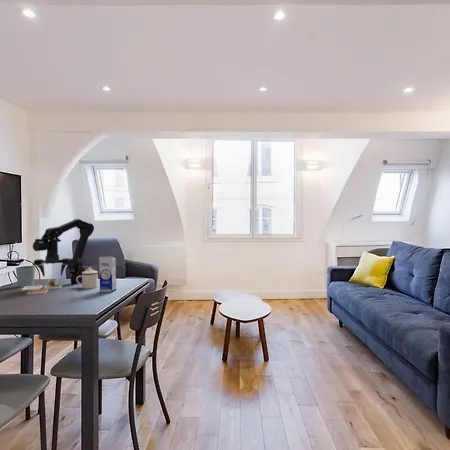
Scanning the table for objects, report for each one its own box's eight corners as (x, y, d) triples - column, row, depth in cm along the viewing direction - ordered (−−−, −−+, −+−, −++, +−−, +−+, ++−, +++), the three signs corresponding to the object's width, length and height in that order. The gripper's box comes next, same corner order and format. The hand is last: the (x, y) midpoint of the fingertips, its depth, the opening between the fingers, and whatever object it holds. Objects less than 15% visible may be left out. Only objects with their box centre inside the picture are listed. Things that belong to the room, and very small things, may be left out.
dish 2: (48, 291, 193) (48, 288, 193) (45, 294, 185) (45, 292, 185) (30, 292, 191) (30, 289, 191) (26, 295, 182) (26, 293, 182)
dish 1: (42, 287, 204) (42, 285, 204) (39, 290, 196) (39, 288, 195) (25, 288, 201) (25, 286, 201) (21, 291, 193) (21, 289, 193)
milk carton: (99, 292, 189) (99, 256, 189) (104, 290, 196) (103, 255, 195) (112, 292, 189) (111, 256, 188) (116, 290, 195) (116, 255, 195)
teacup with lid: (98, 285, 210) (97, 266, 210) (98, 288, 202) (98, 268, 201) (76, 286, 206) (76, 267, 206) (76, 289, 197) (75, 269, 197)
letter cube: (58, 286, 205) (57, 278, 204) (56, 287, 200) (56, 279, 200) (49, 286, 203) (49, 279, 203) (48, 288, 199) (48, 280, 199)
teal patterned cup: (28, 288, 203) (28, 267, 203) (12, 288, 203) (11, 268, 203) (38, 284, 213) (38, 265, 213) (22, 285, 213) (22, 265, 213)
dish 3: (62, 286, 207) (62, 284, 207) (60, 289, 199) (60, 286, 199) (46, 287, 205) (46, 285, 205) (43, 290, 196) (43, 287, 196)
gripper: (31, 251, 191) (31, 279, 191) (67, 250, 196) (68, 277, 197) (35, 249, 201) (36, 276, 202) (70, 248, 207) (70, 274, 207)
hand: (52, 276), depth 201 cm, fingers open, 9 cm apart
